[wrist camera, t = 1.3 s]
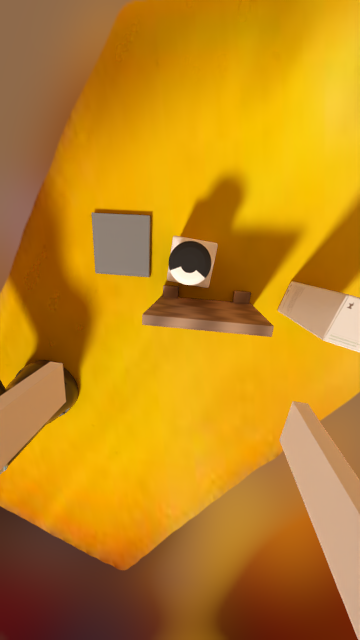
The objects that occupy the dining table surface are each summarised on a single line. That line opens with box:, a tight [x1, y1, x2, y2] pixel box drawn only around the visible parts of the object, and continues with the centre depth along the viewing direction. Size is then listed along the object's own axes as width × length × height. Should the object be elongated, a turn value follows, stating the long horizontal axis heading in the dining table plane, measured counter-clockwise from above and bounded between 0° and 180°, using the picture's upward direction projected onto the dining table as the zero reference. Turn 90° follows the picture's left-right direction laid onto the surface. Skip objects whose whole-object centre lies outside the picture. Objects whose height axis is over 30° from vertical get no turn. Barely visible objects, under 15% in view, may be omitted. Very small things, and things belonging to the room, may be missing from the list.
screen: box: [142, 285, 274, 337], centre depth 35 cm, size 18×6×14 cm, turn 86°
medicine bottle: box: [167, 236, 218, 288], centre depth 34 cm, size 7×7×12 cm
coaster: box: [92, 213, 151, 277], centre depth 40 cm, size 11×11×1 cm
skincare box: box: [278, 281, 360, 352], centre depth 32 cm, size 8×7×16 cm
